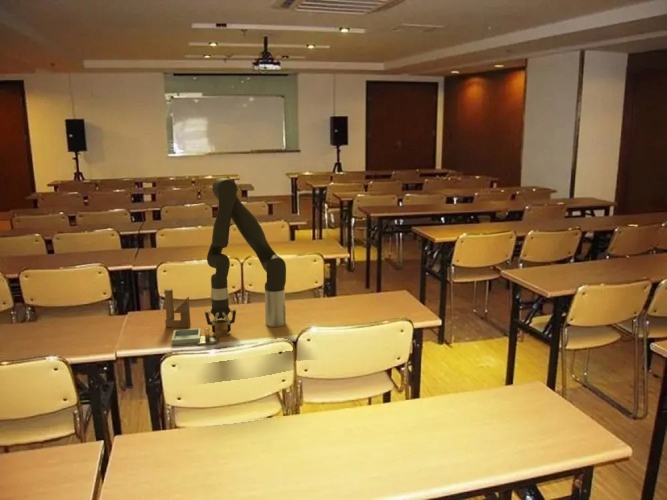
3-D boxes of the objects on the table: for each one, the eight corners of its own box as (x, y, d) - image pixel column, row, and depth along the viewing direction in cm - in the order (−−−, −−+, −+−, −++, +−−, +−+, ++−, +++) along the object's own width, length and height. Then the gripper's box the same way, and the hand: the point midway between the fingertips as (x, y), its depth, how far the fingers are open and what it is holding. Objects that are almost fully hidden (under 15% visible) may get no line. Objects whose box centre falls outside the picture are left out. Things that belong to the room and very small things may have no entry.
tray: (200, 333, 253) (200, 328, 252) (199, 343, 242) (199, 338, 241) (174, 335, 251) (174, 330, 250) (172, 345, 240) (171, 340, 239)
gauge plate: (217, 337, 249) (216, 324, 247) (216, 344, 241) (216, 331, 240) (198, 338, 247) (197, 325, 246) (197, 345, 240) (197, 332, 238)
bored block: (227, 330, 256) (227, 318, 255) (228, 335, 251) (227, 322, 249) (215, 331, 255) (214, 319, 254) (215, 336, 250) (214, 323, 248)
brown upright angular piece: (188, 327, 260) (186, 290, 256) (165, 327, 260) (162, 290, 256) (190, 324, 263) (188, 288, 259) (167, 324, 263) (165, 288, 259)
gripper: (236, 293, 254) (237, 328, 258) (203, 294, 251) (205, 330, 255) (236, 298, 247) (237, 334, 250) (203, 300, 244) (204, 336, 248)
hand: (221, 332), depth 253 cm, fingers closed on bored block, 5 cm apart
